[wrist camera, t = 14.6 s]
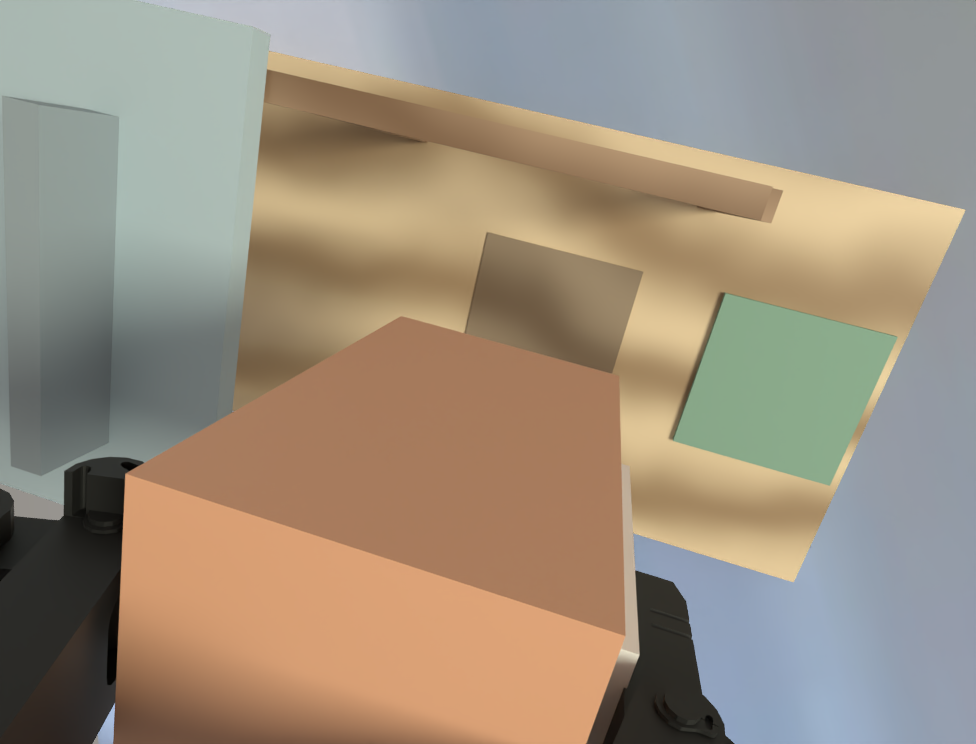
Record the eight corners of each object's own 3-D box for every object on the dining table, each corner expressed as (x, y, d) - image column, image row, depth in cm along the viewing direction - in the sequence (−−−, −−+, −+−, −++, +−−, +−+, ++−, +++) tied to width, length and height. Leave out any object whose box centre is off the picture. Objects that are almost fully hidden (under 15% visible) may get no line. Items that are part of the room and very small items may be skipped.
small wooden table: (787, 569, 35) (877, 767, 23) (178, 384, 39) (-13, 467, 27) (951, 209, 28) (1194, 221, 16) (202, 37, 33) (-33, -50, 21)
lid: (219, 539, 26) (150, 599, 22) (9, 469, 27) (-90, 514, 23) (270, 34, 20) (187, -3, 16) (-3, -27, 21) (-141, -76, 17)
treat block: (559, 567, 18) (498, 984, 8) (365, 506, 19) (109, 827, 9) (619, 375, 16) (625, 636, 7) (401, 315, 17) (125, 473, 7)
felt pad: (827, 483, 32) (829, 485, 31) (672, 438, 33) (672, 441, 32) (895, 335, 29) (897, 337, 29) (724, 292, 30) (725, 293, 30)
